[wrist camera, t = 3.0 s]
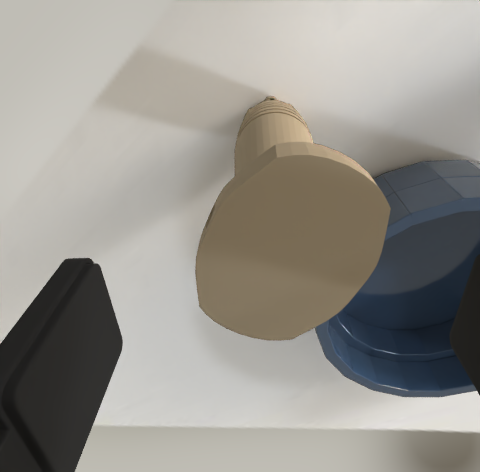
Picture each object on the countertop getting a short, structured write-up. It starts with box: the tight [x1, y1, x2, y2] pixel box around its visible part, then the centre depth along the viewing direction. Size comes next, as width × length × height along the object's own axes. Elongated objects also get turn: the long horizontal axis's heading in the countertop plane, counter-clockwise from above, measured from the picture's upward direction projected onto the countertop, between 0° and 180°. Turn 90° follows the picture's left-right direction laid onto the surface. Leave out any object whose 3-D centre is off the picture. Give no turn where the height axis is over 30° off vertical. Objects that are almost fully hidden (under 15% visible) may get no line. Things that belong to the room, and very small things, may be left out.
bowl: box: [315, 160, 480, 397], centre depth 26 cm, size 17×17×6 cm
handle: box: [195, 96, 391, 340], centre depth 17 cm, size 5×6×15 cm
